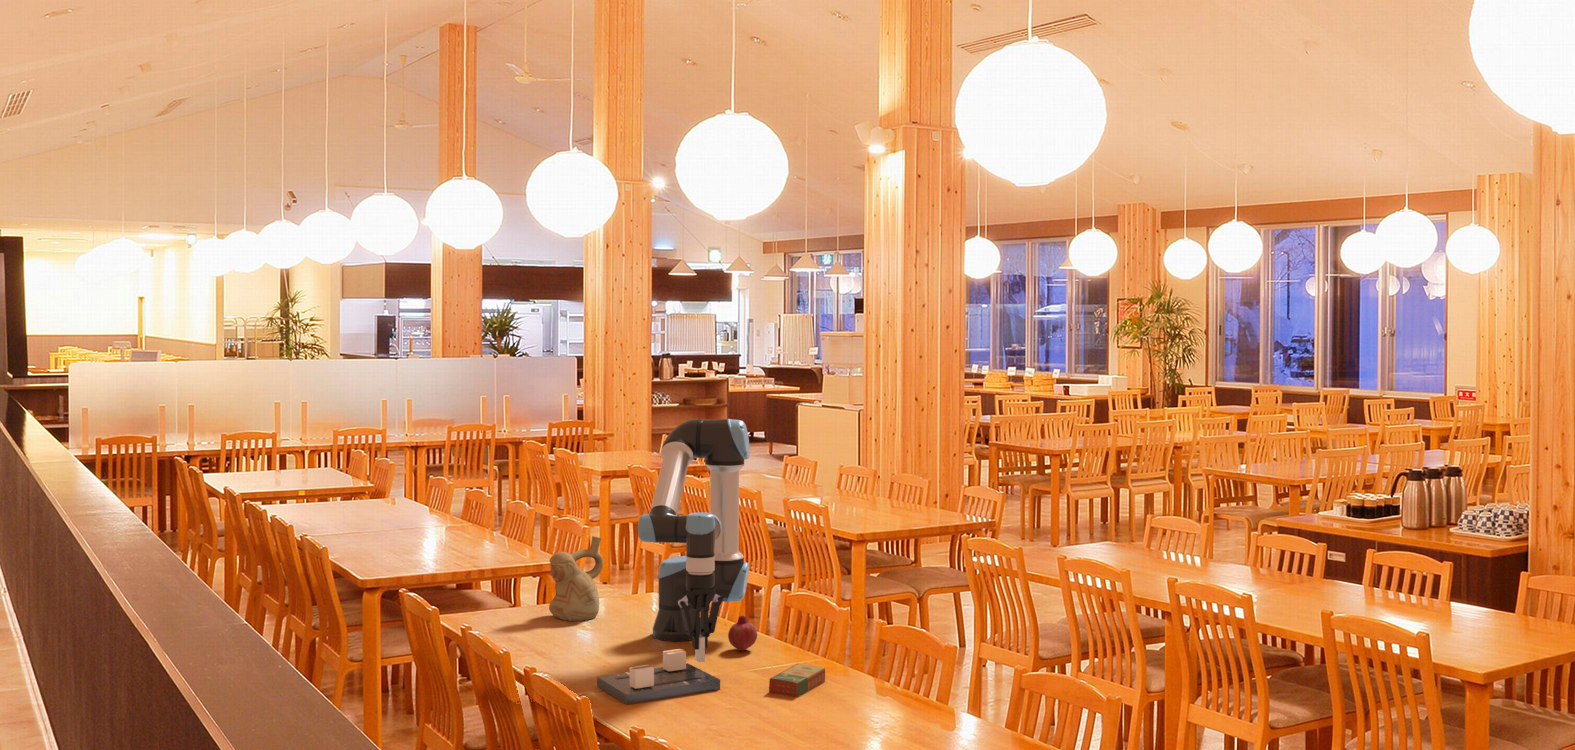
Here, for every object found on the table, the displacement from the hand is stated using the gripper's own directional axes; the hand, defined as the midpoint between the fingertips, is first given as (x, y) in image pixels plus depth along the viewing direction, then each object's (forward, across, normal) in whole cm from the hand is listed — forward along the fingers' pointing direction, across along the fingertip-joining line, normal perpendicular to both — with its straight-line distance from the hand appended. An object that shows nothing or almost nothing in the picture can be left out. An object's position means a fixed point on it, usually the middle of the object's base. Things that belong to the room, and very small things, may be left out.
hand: (699, 660), depth 336 cm
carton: (+5, -17, +22) cm, 28 cm away
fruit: (+4, -23, -17) cm, 29 cm away
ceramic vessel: (+4, +2, -79) cm, 79 cm away
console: (+4, +14, +5) cm, 16 cm away
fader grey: (+2, +22, +10) cm, 24 cm away
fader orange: (+1, +8, 0) cm, 8 cm away
